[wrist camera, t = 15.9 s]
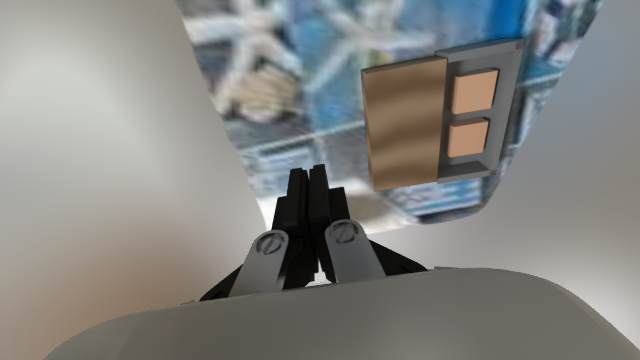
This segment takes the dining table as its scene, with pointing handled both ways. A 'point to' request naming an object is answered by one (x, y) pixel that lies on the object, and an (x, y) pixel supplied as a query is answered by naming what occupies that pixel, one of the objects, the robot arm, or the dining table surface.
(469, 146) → the tile
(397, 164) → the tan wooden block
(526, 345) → the robot arm
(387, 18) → the dining table surface
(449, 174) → the tray
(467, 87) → the tile
